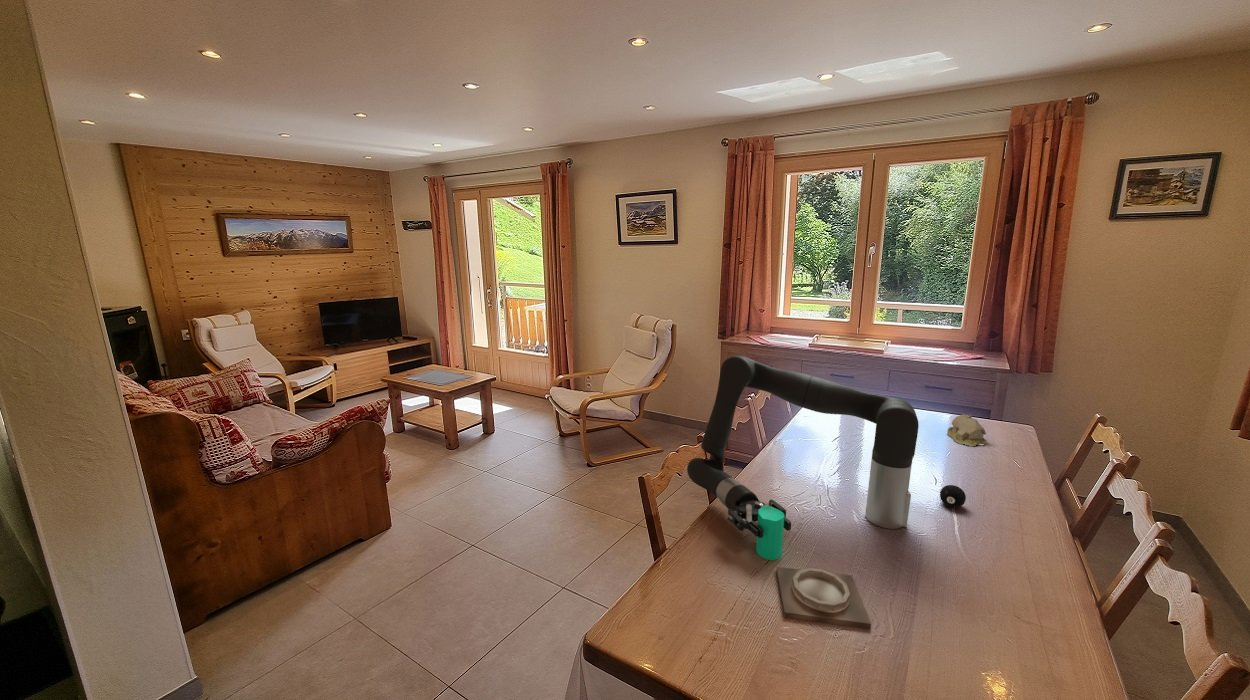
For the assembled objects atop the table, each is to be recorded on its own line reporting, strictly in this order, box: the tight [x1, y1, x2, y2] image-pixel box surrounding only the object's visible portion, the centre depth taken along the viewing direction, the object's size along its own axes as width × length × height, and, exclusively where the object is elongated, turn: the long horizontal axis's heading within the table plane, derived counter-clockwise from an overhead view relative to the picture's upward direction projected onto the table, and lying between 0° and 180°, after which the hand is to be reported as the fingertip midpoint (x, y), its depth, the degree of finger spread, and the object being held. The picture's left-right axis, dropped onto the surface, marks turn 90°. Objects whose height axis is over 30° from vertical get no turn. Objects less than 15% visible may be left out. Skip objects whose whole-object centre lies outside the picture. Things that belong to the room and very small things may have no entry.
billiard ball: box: [939, 484, 967, 508], centre depth 135 cm, size 6×6×6 cm
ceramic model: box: [946, 413, 987, 447], centre depth 180 cm, size 14×11×10 cm
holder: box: [775, 566, 872, 630], centre depth 100 cm, size 16×14×3 cm
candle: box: [755, 506, 785, 561], centre depth 114 cm, size 6×6×12 cm
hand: (776, 530), depth 112 cm, fingers open, 7 cm apart
